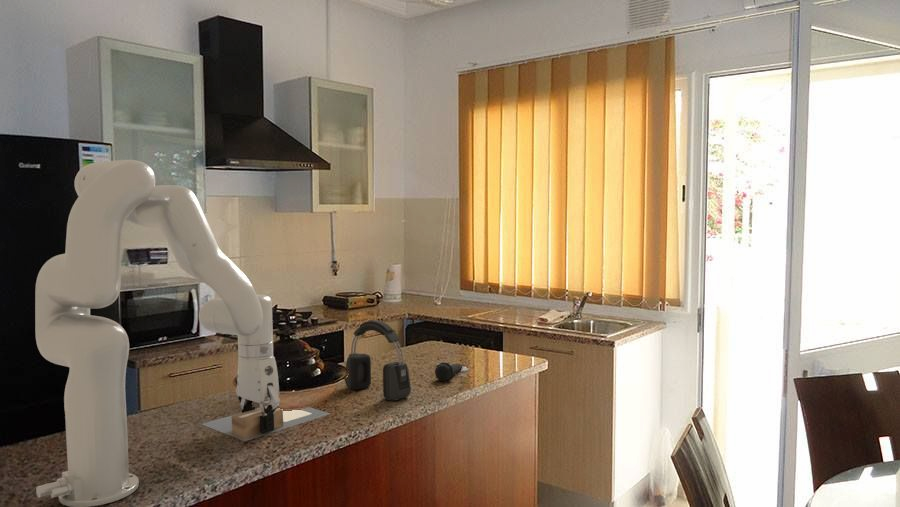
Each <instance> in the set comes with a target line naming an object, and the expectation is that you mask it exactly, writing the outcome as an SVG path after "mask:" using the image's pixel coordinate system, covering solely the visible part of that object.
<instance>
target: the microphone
mask: <svg viewBox="0 0 900 507" xmlns="http://www.w3.org/2000/svg"><path fill="white" fill-rule="evenodd" d="M462 366H463V364H461V363H455V364H450V363H449V362H440V363H438V364H437V365H436V367H435V369H434V374H435V379H437V380H439V381H440V382H449V381H450V380H451V379H453V376H454V375H455V374H457V373H459V372H460V371H461V370H462V369H463V367H464V366H463V367H462ZM461 368H462V369H461ZM460 369H461V370H460ZM459 370H460V371H459Z"/></svg>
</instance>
